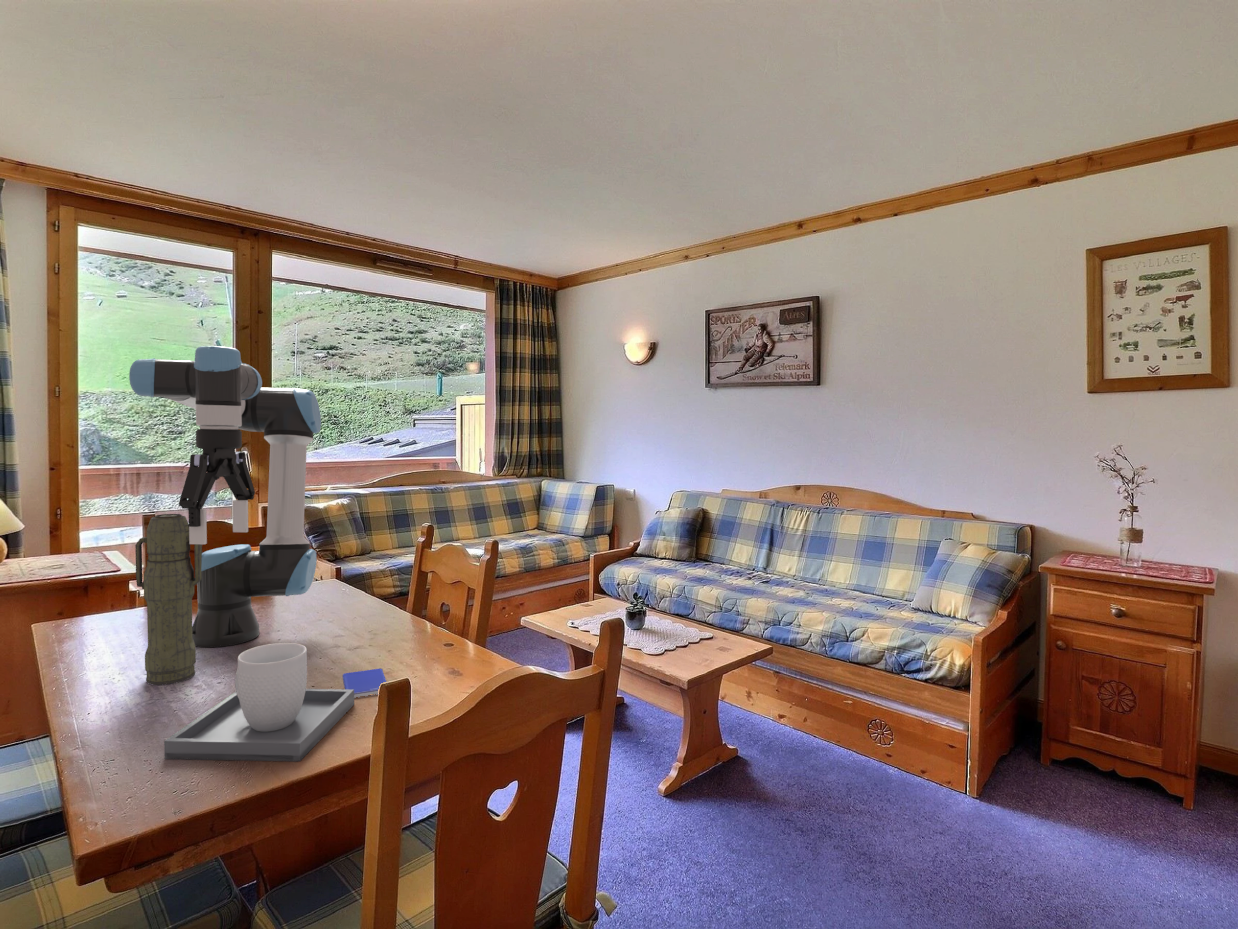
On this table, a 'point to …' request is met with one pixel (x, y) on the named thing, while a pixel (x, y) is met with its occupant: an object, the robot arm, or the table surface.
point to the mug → (271, 684)
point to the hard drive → (364, 682)
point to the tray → (235, 739)
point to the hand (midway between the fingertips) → (220, 537)
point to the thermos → (169, 598)
